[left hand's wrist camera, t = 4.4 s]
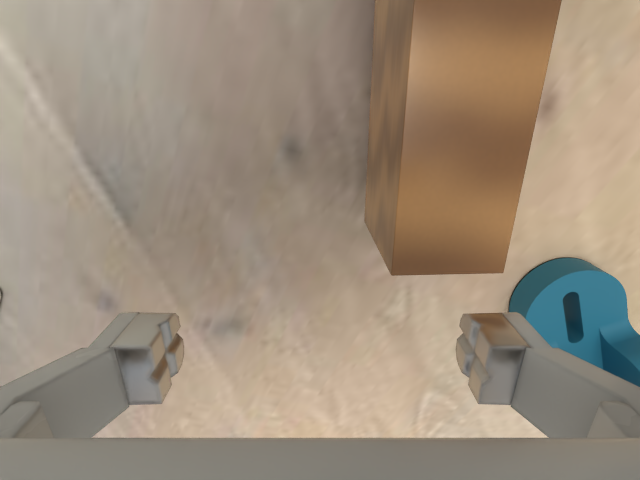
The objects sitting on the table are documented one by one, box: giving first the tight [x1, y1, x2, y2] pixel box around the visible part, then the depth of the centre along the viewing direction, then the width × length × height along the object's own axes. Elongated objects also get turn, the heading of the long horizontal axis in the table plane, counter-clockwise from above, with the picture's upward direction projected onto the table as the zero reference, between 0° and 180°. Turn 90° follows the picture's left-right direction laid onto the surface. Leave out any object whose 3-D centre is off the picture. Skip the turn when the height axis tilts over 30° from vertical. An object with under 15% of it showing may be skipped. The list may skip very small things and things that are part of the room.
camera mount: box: [509, 258, 640, 387], centre depth 36 cm, size 18×10×10 cm, turn 21°
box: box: [364, 0, 561, 275], centre depth 18 cm, size 22×6×9 cm, turn 0°
